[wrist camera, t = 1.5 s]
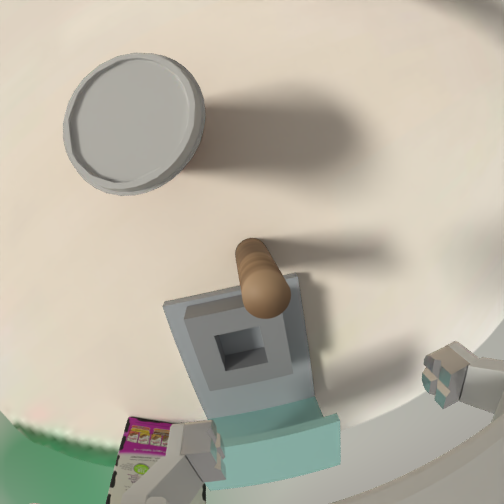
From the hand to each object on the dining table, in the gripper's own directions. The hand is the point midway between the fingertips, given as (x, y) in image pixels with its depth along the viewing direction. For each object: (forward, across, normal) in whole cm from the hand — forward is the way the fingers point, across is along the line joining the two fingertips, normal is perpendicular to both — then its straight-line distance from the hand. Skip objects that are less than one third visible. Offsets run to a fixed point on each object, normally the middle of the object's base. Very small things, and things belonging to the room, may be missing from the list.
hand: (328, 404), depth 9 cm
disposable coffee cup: (+21, +7, -14) cm, 26 cm away
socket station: (+22, +4, +11) cm, 25 cm away
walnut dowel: (+22, +1, -1) cm, 22 cm away
